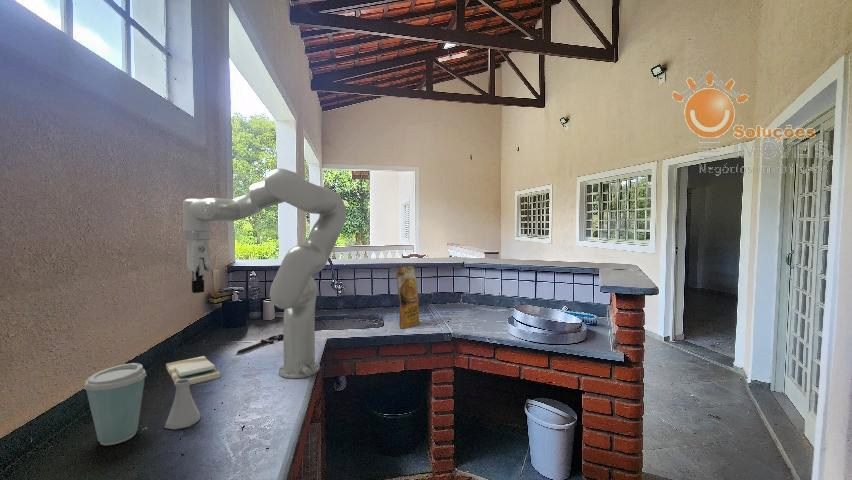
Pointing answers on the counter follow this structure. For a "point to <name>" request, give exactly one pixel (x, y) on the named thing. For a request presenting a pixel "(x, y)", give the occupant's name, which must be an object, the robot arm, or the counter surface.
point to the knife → (260, 344)
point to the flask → (182, 407)
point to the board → (194, 377)
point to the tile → (194, 368)
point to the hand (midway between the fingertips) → (198, 292)
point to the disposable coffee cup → (116, 401)
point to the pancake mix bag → (407, 296)
